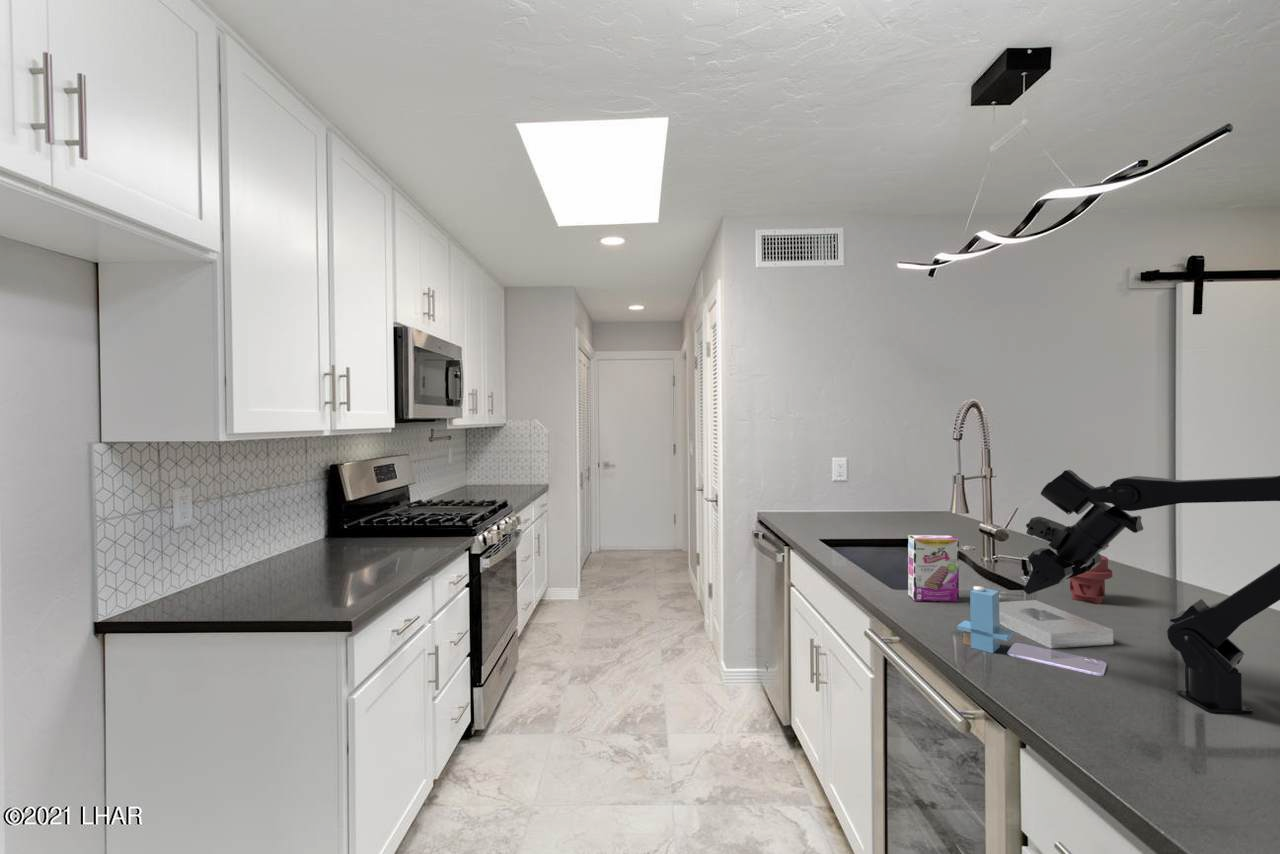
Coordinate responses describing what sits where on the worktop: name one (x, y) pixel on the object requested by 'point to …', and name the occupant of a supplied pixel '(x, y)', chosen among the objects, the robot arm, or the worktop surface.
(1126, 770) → the worktop surface
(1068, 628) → the plate
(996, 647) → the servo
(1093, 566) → the robot arm
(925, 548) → the candy bar box
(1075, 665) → the mobile phone
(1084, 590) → the mechanical component
